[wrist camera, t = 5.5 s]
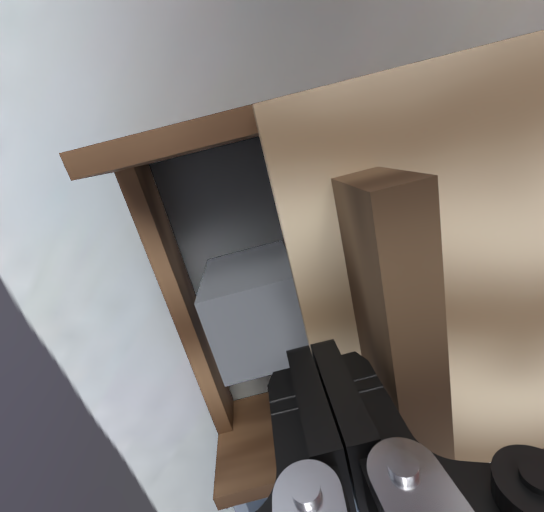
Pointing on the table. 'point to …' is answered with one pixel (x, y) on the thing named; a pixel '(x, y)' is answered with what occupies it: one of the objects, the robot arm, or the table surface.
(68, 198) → the table surface
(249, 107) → the brown cabinet frame
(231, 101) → the table surface
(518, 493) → the robot arm
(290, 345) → the grey block
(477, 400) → the lid
